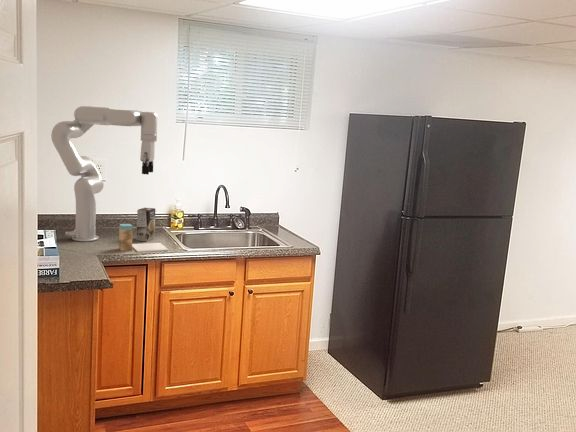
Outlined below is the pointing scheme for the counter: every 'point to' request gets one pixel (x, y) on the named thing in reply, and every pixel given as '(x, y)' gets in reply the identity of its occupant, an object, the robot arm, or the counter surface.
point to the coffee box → (145, 224)
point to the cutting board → (149, 247)
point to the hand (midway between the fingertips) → (147, 173)
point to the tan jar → (125, 237)
